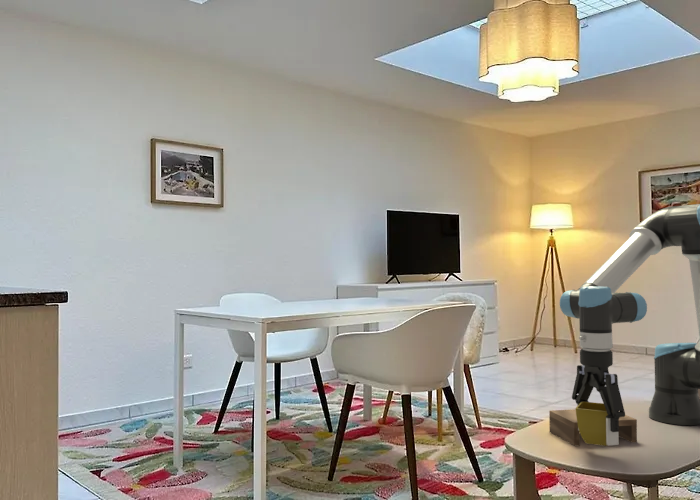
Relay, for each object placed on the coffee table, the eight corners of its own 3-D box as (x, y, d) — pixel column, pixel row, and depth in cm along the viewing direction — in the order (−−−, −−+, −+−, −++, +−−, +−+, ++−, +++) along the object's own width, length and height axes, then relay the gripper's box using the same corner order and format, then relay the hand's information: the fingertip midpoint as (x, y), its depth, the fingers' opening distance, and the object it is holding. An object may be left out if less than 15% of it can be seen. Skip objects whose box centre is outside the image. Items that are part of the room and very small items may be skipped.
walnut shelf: (608, 429, 176) (607, 408, 176) (636, 442, 163) (636, 419, 163) (549, 432, 173) (549, 410, 173) (574, 445, 160) (574, 422, 160)
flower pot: (582, 435, 158) (581, 400, 158) (619, 440, 153) (618, 404, 154) (575, 445, 150) (575, 408, 151) (614, 450, 146) (613, 412, 146)
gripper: (557, 343, 163) (558, 425, 163) (610, 357, 140) (612, 453, 140) (583, 342, 165) (584, 423, 164) (640, 356, 141) (642, 451, 141)
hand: (597, 437), depth 152 cm, fingers closed on flower pot, 12 cm apart
